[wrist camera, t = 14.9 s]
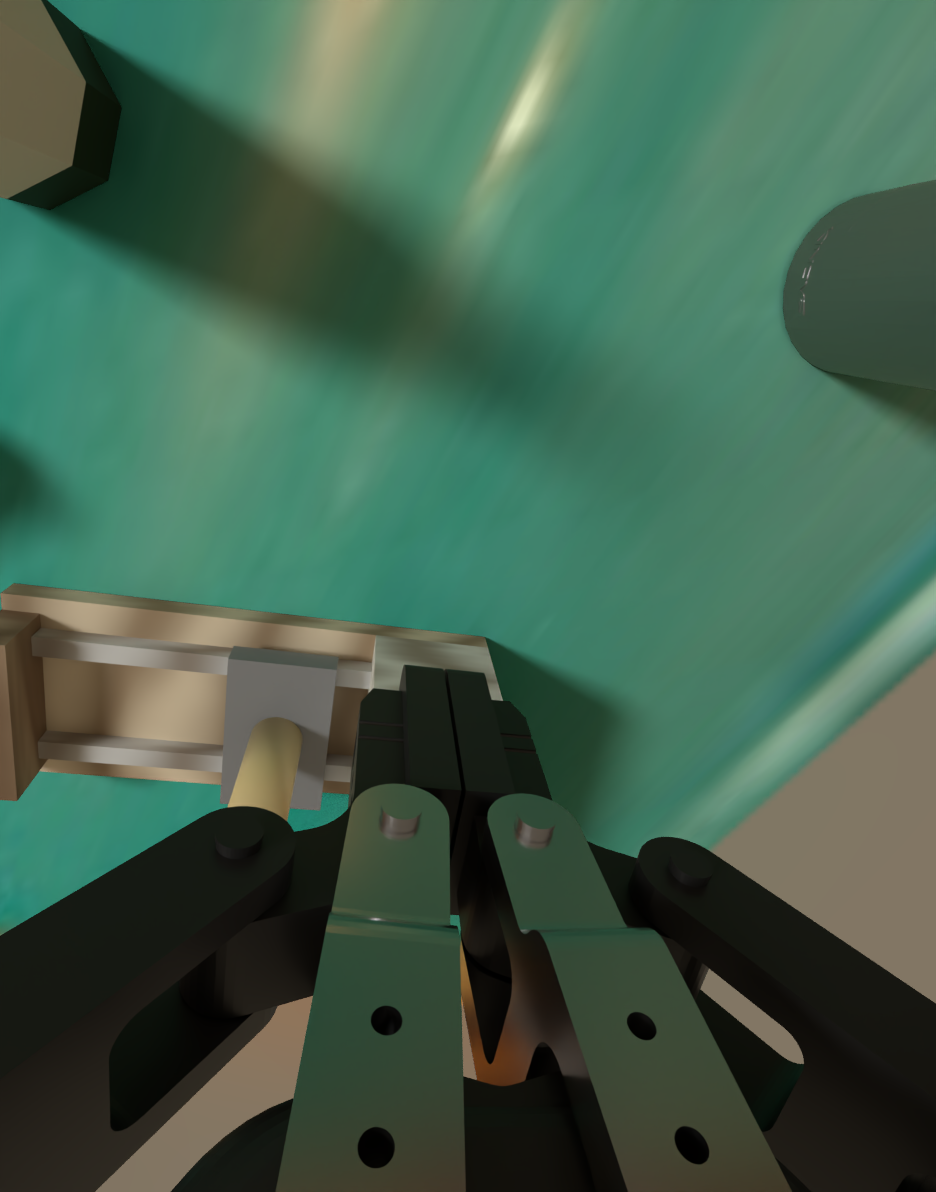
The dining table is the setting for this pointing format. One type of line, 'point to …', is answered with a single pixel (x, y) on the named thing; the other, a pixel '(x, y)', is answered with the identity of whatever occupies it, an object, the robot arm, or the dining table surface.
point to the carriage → (276, 728)
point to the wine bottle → (51, 108)
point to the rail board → (174, 681)
